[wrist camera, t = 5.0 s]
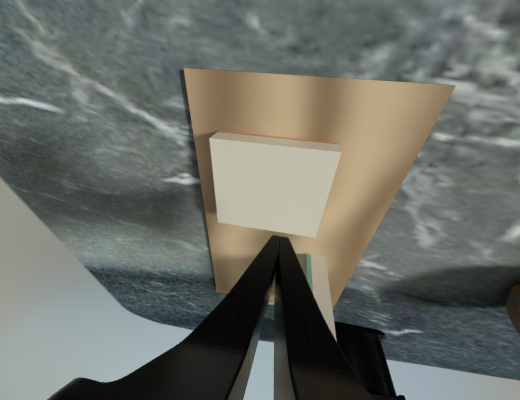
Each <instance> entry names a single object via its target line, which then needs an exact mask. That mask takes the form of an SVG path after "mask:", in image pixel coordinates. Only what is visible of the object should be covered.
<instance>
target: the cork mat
mask: <svg viewBox="0 0 520 400" xmlns="http://www.w3.org/2000/svg"><path fill="white" fill-rule="evenodd" d="M184 74H185V81H186V88H187V95H188V101H189V108H190V115H191V121H192V128H193V135H194V142H195V148H196V155H197V162H198V168H199V175H200V182H201V189H202V195H203V202H204V209H205V216H206V222H207V229H208V236H209V242H210V249H211V256H212V263H213V269H214V276H215V283H216V289H217V292H222V293H227V294H228V293H229V291H230V290H231V289H232V288H233V286H234V285H235V284H236V283H237V281H238V280H239V278H240V277H241V276H242V274H243V273H244V272H245V270H246V269H247V268H248V266H249V265H250V264H251V262H252V261H253V260H254V258H255V257H256V256H257V254H258V253H259V252H260V250H261V249H262V248H263V246H264V245H265V244H266V242H267V241H268V240H269V238H270V237H271V236H272V235H278V236H280V237H281V236H285V237H288V238H289V239H290V241H291V244H292V246H293V248H294V251H295V253H296V255H297V258H298V260H299V262H300V265H301V267H302V268H303V264H304V261H305V257H306V254H313V255H319V256H325V258H326V265H327V273H328V280H329V288H330V295H331V303H332V310H333V308H334V306H335V304H336V302H337V300H338V299H339V297H340V295H341V293H342V291H343V290H344V288H345V286H346V284H347V282H348V280H349V279H350V277H351V275H352V273H353V271H354V270H355V268H356V266H357V264H358V262H359V260H360V259H361V257H362V255H363V253H364V251H365V249H366V248H367V246H368V244H369V242H370V240H371V239H372V237H373V235H374V233H375V231H376V229H377V228H378V226H379V224H380V222H381V220H382V219H383V217H384V215H385V213H386V211H387V209H388V208H389V206H390V204H391V202H392V200H393V199H394V197H395V195H396V193H397V191H398V189H399V188H400V186H401V184H402V182H403V180H404V179H405V177H406V175H407V173H408V171H409V169H410V168H411V166H412V164H413V162H414V160H415V159H416V157H417V155H418V153H419V151H420V149H421V148H422V146H423V144H424V142H425V140H426V139H427V137H428V135H429V133H430V131H431V129H432V128H433V126H434V124H435V122H436V120H437V119H438V117H439V115H440V113H441V111H442V109H443V108H444V106H445V104H446V102H447V100H448V99H449V97H450V95H451V93H452V91H453V89H454V88H455V85H441V84H426V83H410V82H395V81H379V80H364V79H348V78H332V77H317V76H301V75H286V74H270V73H255V72H239V71H224V70H208V69H192V68H184ZM218 131H228V132H238V133H248V134H258V135H268V136H278V137H287V138H297V139H307V140H317V141H327V142H337V144H338V146H339V148H340V150H341V152H342V153H341V157H340V160H339V163H338V166H337V170H336V173H335V176H334V179H333V183H332V186H331V189H330V192H329V196H328V199H327V202H326V205H325V209H324V212H323V215H322V218H321V222H320V225H319V228H318V231H317V235H316V238H313V237H307V236H301V235H294V234H288V233H282V232H275V231H269V230H263V229H256V228H250V227H244V226H237V225H231V224H225V223H218V218H217V208H216V198H215V189H214V179H213V169H212V159H211V150H210V140H209V138H210V137H211V136H213V135H214V134H215V133H217V132H218ZM275 272H276V271H275ZM274 290H275V278H274V282H273V286H272V290H271V294H270V298H269V302H271V303H274Z"/></svg>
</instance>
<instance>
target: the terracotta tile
mask: <svg viewBox="0 0 520 400" xmlns="http://www.w3.org/2000/svg"><path fill="white" fill-rule="evenodd" d="M209 140H210V150H211V159H212V169H213V179H214V189H215V198H216V208H217V218H218V223H225V224H231V225H237V226H244V227H250V228H256V229H263V230H269V231H275V232H282V233H288V234H294V235H301V236H307V237H313V238H316V235H317V231H318V228H319V225H320V222H321V218H322V215H323V212H324V209H325V205H326V202H327V199H328V196H329V192H330V189H331V186H332V183H333V179H334V176H335V173H336V170H337V166H338V163H339V160H340V157H341V153H342V152H341V150H340V148H339V146H338V144H337V142H327V141H317V140H307V139H297V138H287V137H278V136H268V135H258V134H248V133H238V132H228V131H218V132H217V133H215V134H214V135H213V136H211V137H210V138H209Z"/></svg>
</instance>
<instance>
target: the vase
mask: <svg viewBox="0 0 520 400" xmlns="http://www.w3.org/2000/svg"><path fill="white" fill-rule="evenodd" d="M506 308H507V312H508V315H509V317H510V320H511V322H512V324H513V326H514V328H515V329H516V331H517V332H518V333H519V335H520V283H518V284H516V285H515V286H514V287H513V288H512V289H511V290H510V292H509V294H508V297H507V303H506Z"/></svg>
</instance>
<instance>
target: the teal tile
mask: <svg viewBox="0 0 520 400" xmlns="http://www.w3.org/2000/svg"><path fill="white" fill-rule="evenodd" d="M302 269H303V272H304V274H305V276H306V279H307V281H308V283H309V286H310V288H311V290H312V293H313V295H314V298H315V299H316V302H317V304H318V306H319V309H320V311H321V313H322V315H323V317H324V319H325V321H326V323H327V325H328V327H329V329H330V331H331V332H332V334H333V336H334V338H335V340H336V333H335V325H334V318H333V310H332V303H331V295H330V288H329V280H328V273H327V265H326V258H325V256H319V255H313V254H306V257H305V261H304V264H303V268H302ZM336 341H337V340H336Z"/></svg>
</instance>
